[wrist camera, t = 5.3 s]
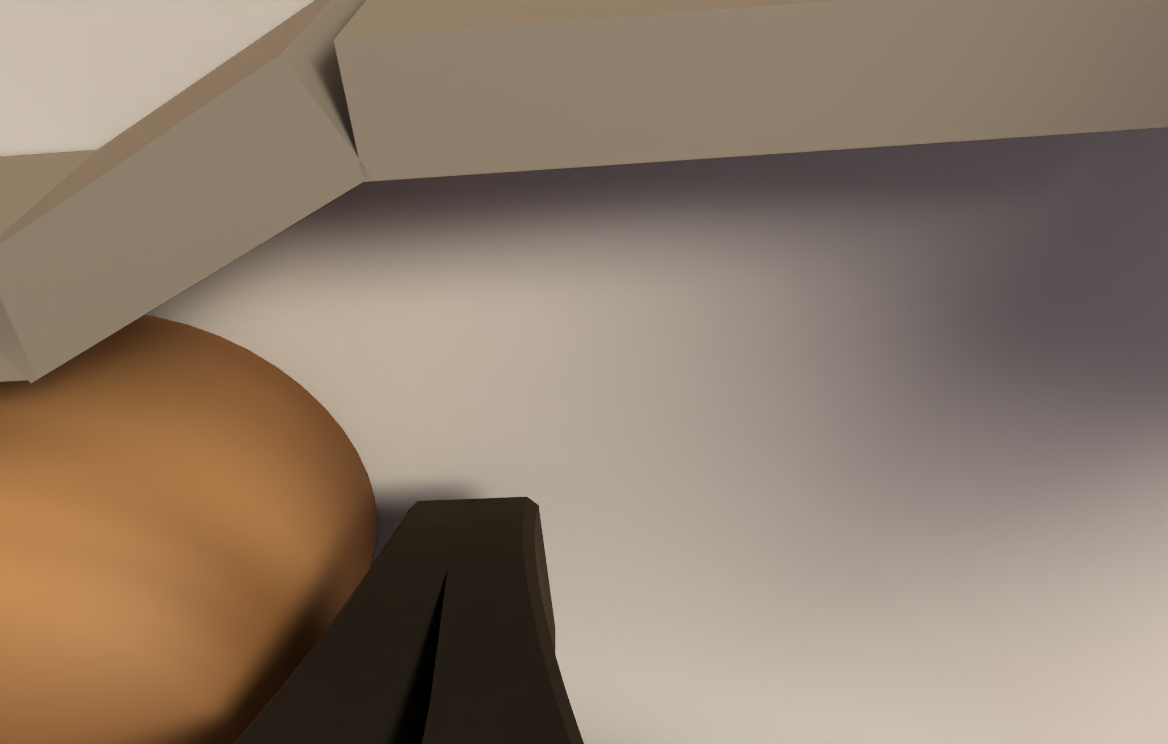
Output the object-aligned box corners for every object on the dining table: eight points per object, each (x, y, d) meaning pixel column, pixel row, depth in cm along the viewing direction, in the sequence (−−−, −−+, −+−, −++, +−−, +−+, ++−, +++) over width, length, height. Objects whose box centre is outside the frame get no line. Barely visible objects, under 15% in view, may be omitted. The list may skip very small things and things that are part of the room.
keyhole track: (1254, -115, 9) (1461, -50, 6) (1036, 802, 15) (1103, 983, 13) (-1034, 78, 10) (-1470, 182, 8) (-336, 831, 17) (-475, 996, 15)
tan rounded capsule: (407, 651, 14) (336, 962, 10) (22, 657, 14) (-166, 960, 11) (333, 303, 11) (203, 577, 8) (-146, 319, 11) (-476, 589, 8)
